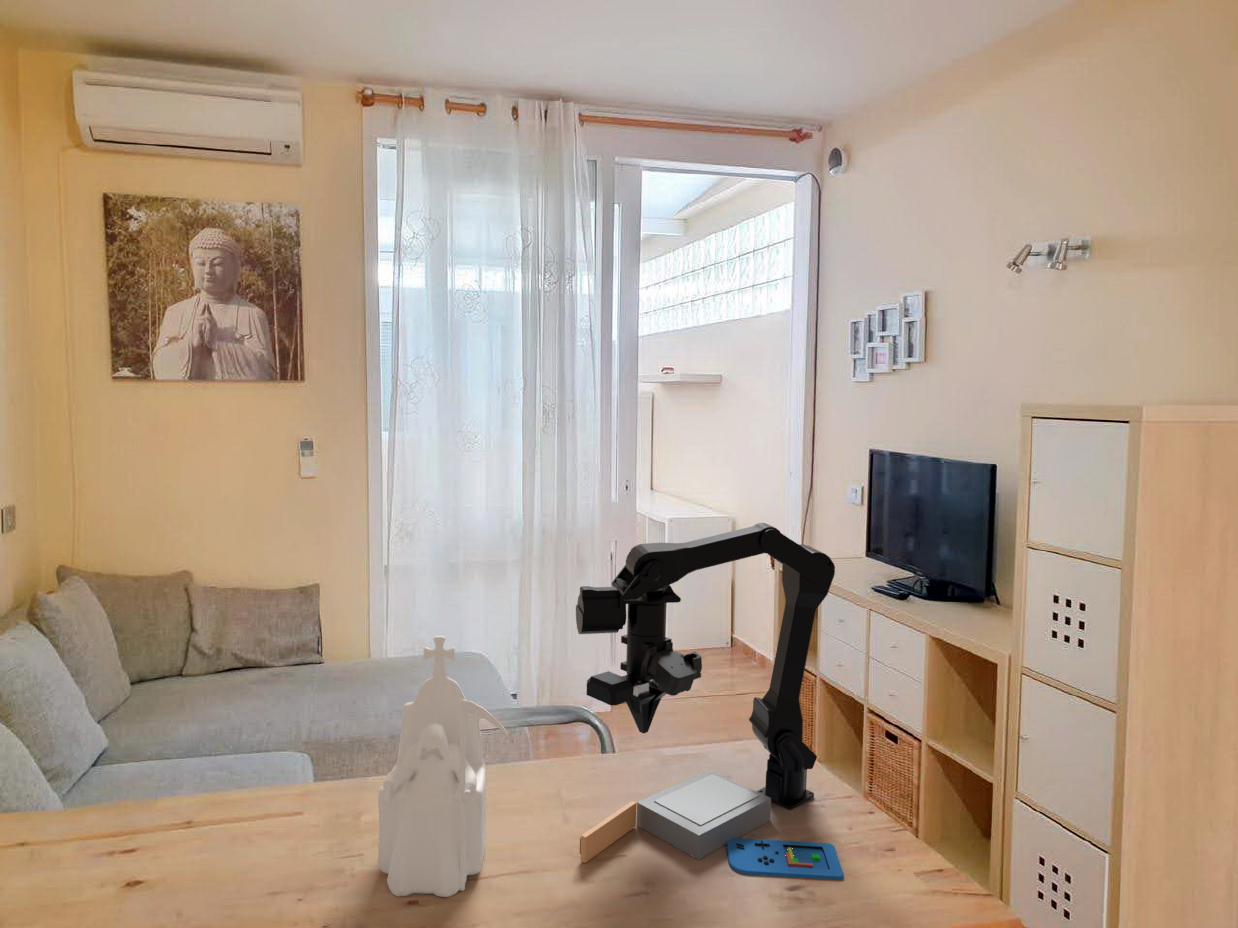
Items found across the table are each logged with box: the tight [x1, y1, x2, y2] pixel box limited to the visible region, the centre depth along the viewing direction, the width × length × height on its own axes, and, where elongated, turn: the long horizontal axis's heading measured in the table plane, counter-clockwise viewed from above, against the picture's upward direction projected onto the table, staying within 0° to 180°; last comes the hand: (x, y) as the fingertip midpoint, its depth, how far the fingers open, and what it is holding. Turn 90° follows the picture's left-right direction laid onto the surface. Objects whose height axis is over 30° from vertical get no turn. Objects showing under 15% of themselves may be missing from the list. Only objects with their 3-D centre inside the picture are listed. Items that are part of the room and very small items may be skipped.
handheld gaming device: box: [726, 837, 845, 881], centre depth 120 cm, size 8×1×15 cm
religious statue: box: [377, 635, 509, 898], centre depth 114 cm, size 17×14×30 cm
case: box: [636, 769, 772, 860], centre depth 129 cm, size 16×12×4 cm
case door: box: [579, 800, 638, 863], centre depth 123 cm, size 1×12×4 cm, turn 145°
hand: (643, 732), depth 132 cm, fingers closed
